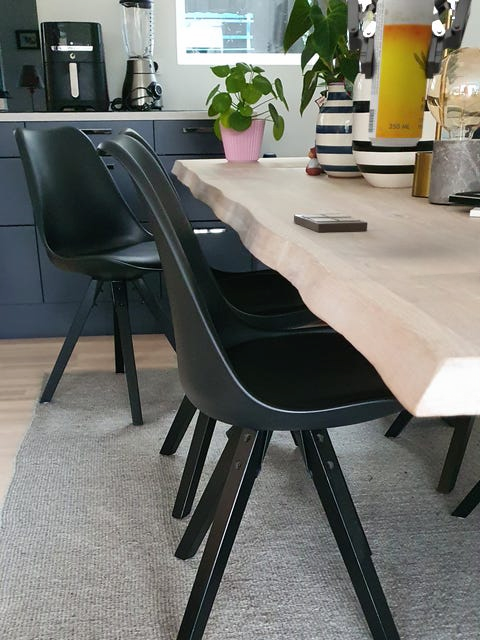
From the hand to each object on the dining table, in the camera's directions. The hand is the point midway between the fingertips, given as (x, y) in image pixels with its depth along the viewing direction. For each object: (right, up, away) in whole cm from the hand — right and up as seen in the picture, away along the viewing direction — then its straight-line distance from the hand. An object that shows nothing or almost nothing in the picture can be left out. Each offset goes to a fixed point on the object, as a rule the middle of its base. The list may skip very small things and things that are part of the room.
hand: (399, 72), depth 86 cm
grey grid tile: (-4, -5, +34) cm, 34 cm away
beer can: (0, -6, +5) cm, 8 cm away
